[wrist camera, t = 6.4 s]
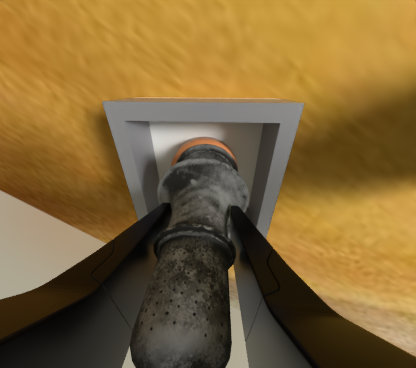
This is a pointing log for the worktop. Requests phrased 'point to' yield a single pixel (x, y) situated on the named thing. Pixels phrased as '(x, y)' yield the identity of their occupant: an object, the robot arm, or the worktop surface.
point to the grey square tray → (205, 127)
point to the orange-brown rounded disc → (201, 141)
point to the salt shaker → (191, 265)
